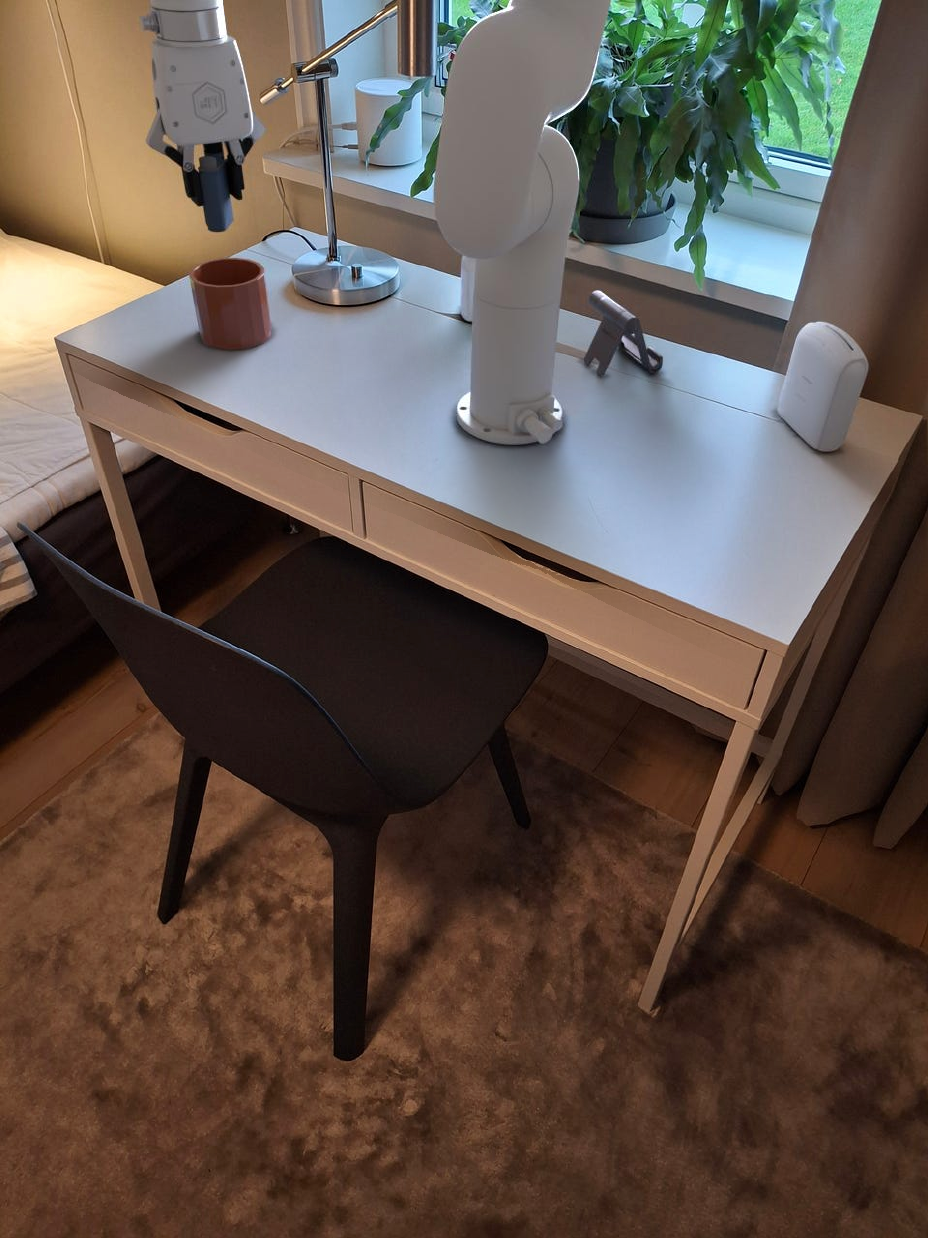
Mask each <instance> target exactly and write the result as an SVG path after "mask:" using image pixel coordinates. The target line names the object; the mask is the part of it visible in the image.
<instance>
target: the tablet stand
mask: <svg viewBox="0 0 928 1238" xmlns="http://www.w3.org/2000/svg"><path fill="white" fill-rule="evenodd" d="M588 305H589V306H590V307H591V308H592V309H594V310H595V311H596V312H598V314H600V315H602V319H601V321H600V323H599V325H598V327H597V330H596V332H595V334H594V336H593V338H592V340H591V342H590V345H589V347H588V348H587V351H586V353H585V355H584V357H583V362H584V363H585V364H586V365H587V366H590V365H591V364H592V362H593V360H594V359H595V360H597V361H598V363H599V364H598V366H597V369H596V371H595V372H596V374H597V375H599V376H601V377H604V375H605V373H606V372H607V370H608V368H609V366H610V364H611V361H612V359H613V357H614V356H615V354H616V351H617V349H618V348H619V349H620V350H622V351H623V352H625V353H626V354H628V355H629V357H631V358H632V359H633V360H635V361H636V362H637V363H639V364H640V365H641V366H642V367H643V368H644V369H645V370H647V371H648V372H650V373H652V374H657V373H658V372H660V371H661V370H662V369H663V365H664V356H663V355H662V354H661V353H659V352H658V351H656V350H655V349H653V348H652V347H651V346H647V344H646V340H645V337H644V332H643V329H642V325H641V321H640V319H639V318H637V316H635V315H634V314H632V313H631V312H630V311H628V310H627V309H626V308H624V307H623V306H621V305H620V304H619V303H617V302H616V301H615V300H613V299H612V298H610V297H609V296H608V295H606V294H605V293H603V292H602V291H601V290H595V291H593V292H591V294H590V295H589V297H588Z"/></svg>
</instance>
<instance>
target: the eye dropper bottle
mask: <svg viewBox="0 0 928 1238" xmlns="http://www.w3.org/2000/svg"><path fill="white" fill-rule="evenodd" d="M460 262H461V263H460V304H459V305H460V306H459V307H460V309H459V310H460V311H459V312H460V315H461V317H462V318H463V319H464V320H465V321H467V322H472V311H473V286H474V267H475V259H473V258H469V257H466V256H464V255H462V257H461V261H460Z"/></svg>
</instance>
